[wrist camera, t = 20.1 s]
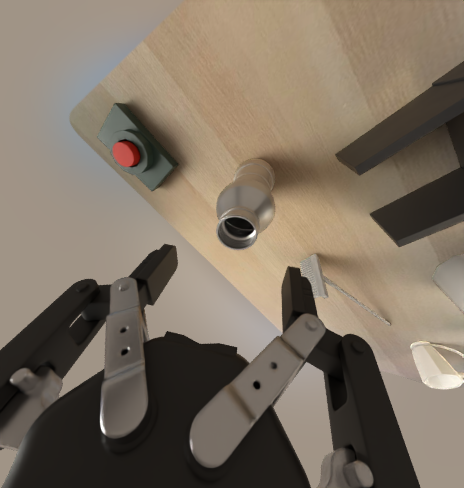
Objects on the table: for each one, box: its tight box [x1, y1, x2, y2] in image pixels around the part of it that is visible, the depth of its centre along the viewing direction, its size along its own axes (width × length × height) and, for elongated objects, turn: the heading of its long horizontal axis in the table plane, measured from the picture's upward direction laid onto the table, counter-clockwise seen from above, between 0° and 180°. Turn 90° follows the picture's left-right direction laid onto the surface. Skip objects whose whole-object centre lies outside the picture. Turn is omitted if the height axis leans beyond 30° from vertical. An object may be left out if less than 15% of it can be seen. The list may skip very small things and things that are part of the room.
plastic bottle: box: [216, 159, 275, 250], centre depth 25 cm, size 6×7×20 cm
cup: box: [410, 341, 464, 389], centre depth 44 cm, size 7×10×8 cm
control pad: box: [97, 103, 178, 191], centre depth 33 cm, size 12×7×4 cm, turn 42°
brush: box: [300, 254, 391, 326], centre depth 42 cm, size 4×28×9 cm, turn 50°
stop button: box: [113, 141, 140, 167], centre depth 31 cm, size 4×4×2 cm
